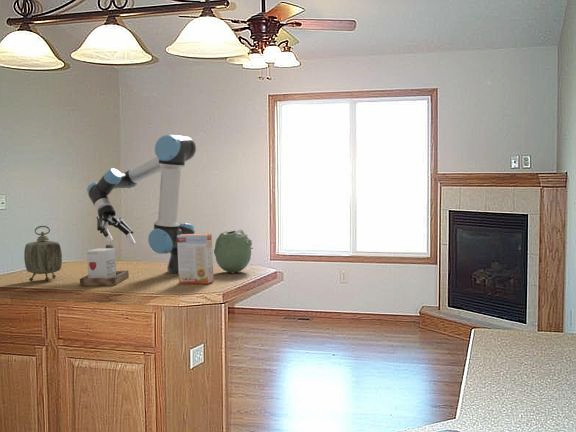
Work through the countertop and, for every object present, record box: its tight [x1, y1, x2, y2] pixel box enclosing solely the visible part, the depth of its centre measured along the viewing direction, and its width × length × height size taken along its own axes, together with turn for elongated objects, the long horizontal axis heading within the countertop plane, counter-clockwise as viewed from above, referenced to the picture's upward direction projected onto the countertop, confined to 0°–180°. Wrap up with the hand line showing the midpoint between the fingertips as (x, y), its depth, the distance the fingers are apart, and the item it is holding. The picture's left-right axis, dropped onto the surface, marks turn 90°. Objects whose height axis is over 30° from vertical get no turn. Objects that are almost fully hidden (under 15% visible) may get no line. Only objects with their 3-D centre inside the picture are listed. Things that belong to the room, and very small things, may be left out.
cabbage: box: [213, 229, 254, 274], centre depth 313 cm, size 16×19×20 cm
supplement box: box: [86, 247, 117, 278], centre depth 293 cm, size 9×9×15 cm
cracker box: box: [177, 233, 215, 285], centre depth 287 cm, size 14×6×21 cm, turn 70°
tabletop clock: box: [23, 225, 63, 282], centre depth 306 cm, size 14×9×25 cm, turn 133°
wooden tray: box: [79, 244, 130, 287], centre depth 298 cm, size 15×23×15 cm, turn 178°
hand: (122, 243), depth 309 cm, fingers open, 13 cm apart
